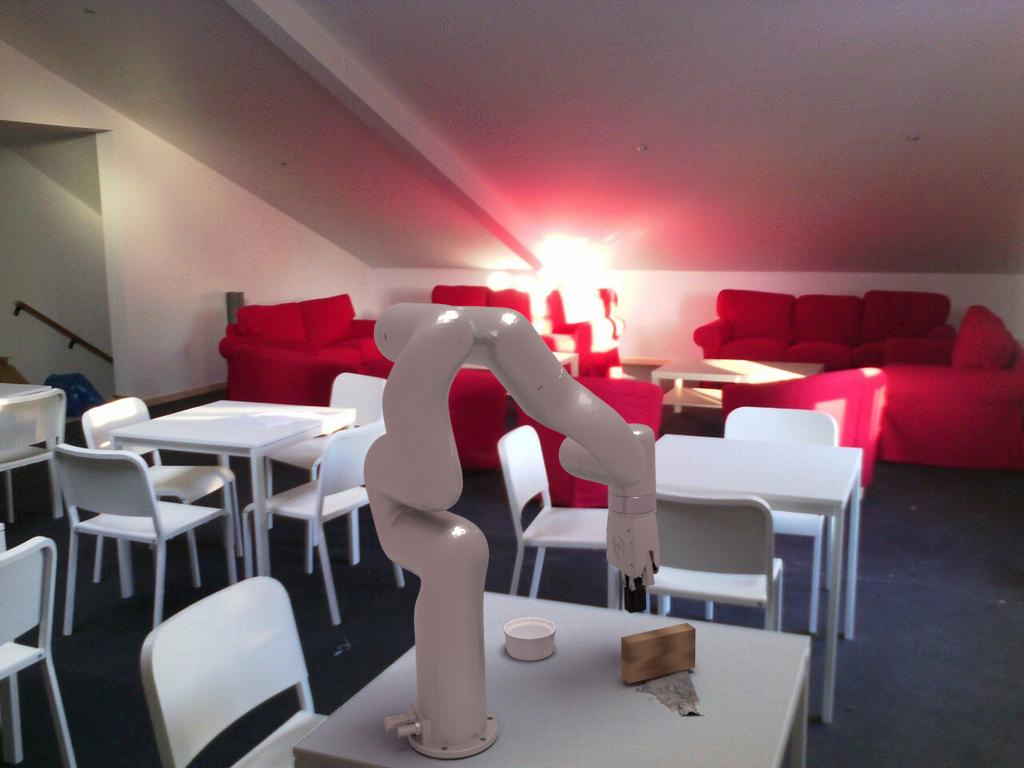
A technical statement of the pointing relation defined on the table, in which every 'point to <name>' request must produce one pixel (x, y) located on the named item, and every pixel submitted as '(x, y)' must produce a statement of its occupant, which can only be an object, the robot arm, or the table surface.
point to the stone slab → (673, 691)
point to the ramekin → (529, 638)
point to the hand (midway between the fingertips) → (635, 609)
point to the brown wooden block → (658, 652)
